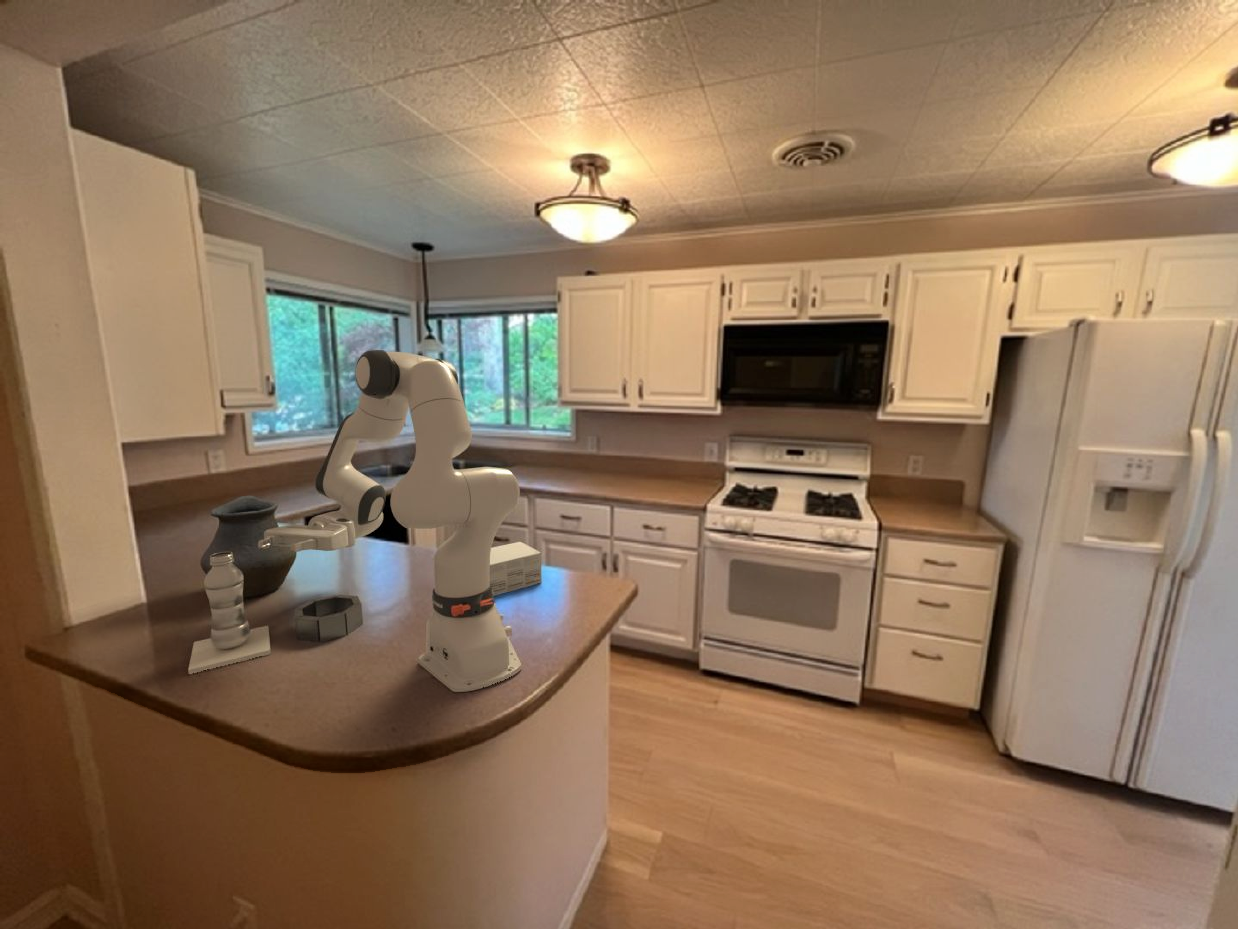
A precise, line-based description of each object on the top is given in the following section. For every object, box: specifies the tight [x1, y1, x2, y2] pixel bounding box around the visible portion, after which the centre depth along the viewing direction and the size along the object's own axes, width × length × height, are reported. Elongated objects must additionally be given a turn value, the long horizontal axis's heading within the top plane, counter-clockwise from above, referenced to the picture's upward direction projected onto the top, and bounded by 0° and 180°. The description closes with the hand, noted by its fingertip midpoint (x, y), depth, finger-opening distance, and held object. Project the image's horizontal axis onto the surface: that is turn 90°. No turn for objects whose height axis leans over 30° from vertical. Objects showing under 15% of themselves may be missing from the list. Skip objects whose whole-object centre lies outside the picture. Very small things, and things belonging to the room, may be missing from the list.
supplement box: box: [490, 541, 543, 596], centre depth 143 cm, size 17×13×9 cm
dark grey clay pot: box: [199, 495, 298, 600], centre depth 134 cm, size 21×22×25 cm
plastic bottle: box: [203, 552, 251, 650], centre depth 104 cm, size 6×7×20 cm
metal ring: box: [293, 594, 364, 643], centre depth 116 cm, size 13×13×5 cm
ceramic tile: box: [187, 625, 272, 675], centre depth 105 cm, size 13×13×1 cm
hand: (276, 547), depth 114 cm, fingers open, 8 cm apart
